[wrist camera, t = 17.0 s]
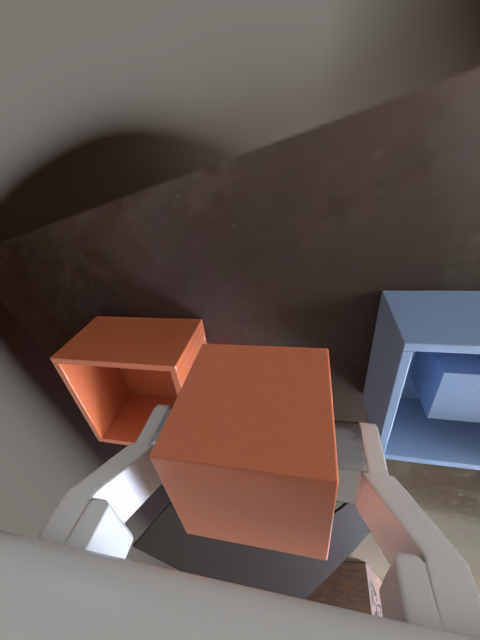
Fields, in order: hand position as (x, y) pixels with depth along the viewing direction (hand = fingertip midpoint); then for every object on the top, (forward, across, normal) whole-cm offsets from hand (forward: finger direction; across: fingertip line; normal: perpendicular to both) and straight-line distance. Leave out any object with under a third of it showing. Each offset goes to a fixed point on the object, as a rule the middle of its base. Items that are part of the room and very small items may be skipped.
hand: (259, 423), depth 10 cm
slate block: (+14, -13, +8) cm, 21 cm away
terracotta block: (+2, 0, 0) cm, 2 cm away
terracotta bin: (+14, +13, +11) cm, 23 cm away
